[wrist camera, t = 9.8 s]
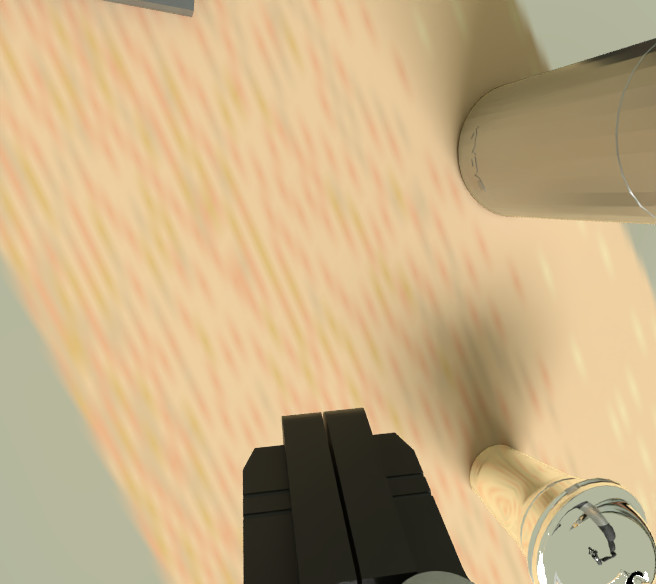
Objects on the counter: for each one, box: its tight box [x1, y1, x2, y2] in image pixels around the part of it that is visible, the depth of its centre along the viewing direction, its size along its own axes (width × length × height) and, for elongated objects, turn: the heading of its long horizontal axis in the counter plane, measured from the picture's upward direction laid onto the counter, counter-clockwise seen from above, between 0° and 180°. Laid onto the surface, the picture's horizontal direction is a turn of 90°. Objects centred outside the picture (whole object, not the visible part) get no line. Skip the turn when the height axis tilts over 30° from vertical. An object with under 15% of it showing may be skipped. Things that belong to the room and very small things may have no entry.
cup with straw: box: [470, 445, 656, 584], centre depth 36 cm, size 8×9×20 cm
